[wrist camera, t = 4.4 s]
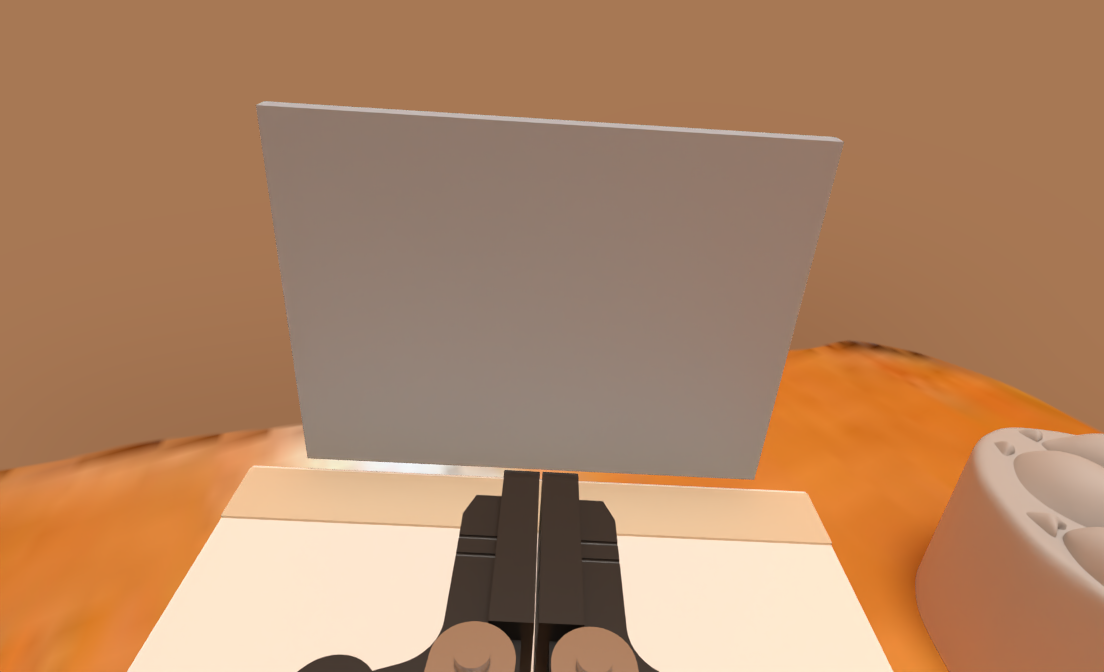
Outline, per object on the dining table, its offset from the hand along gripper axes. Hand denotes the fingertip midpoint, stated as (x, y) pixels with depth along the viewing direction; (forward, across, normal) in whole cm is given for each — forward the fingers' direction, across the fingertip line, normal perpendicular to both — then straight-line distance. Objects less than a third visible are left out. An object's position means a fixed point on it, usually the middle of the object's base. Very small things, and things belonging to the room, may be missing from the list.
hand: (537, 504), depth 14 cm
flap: (+9, 0, +6) cm, 11 cm away
